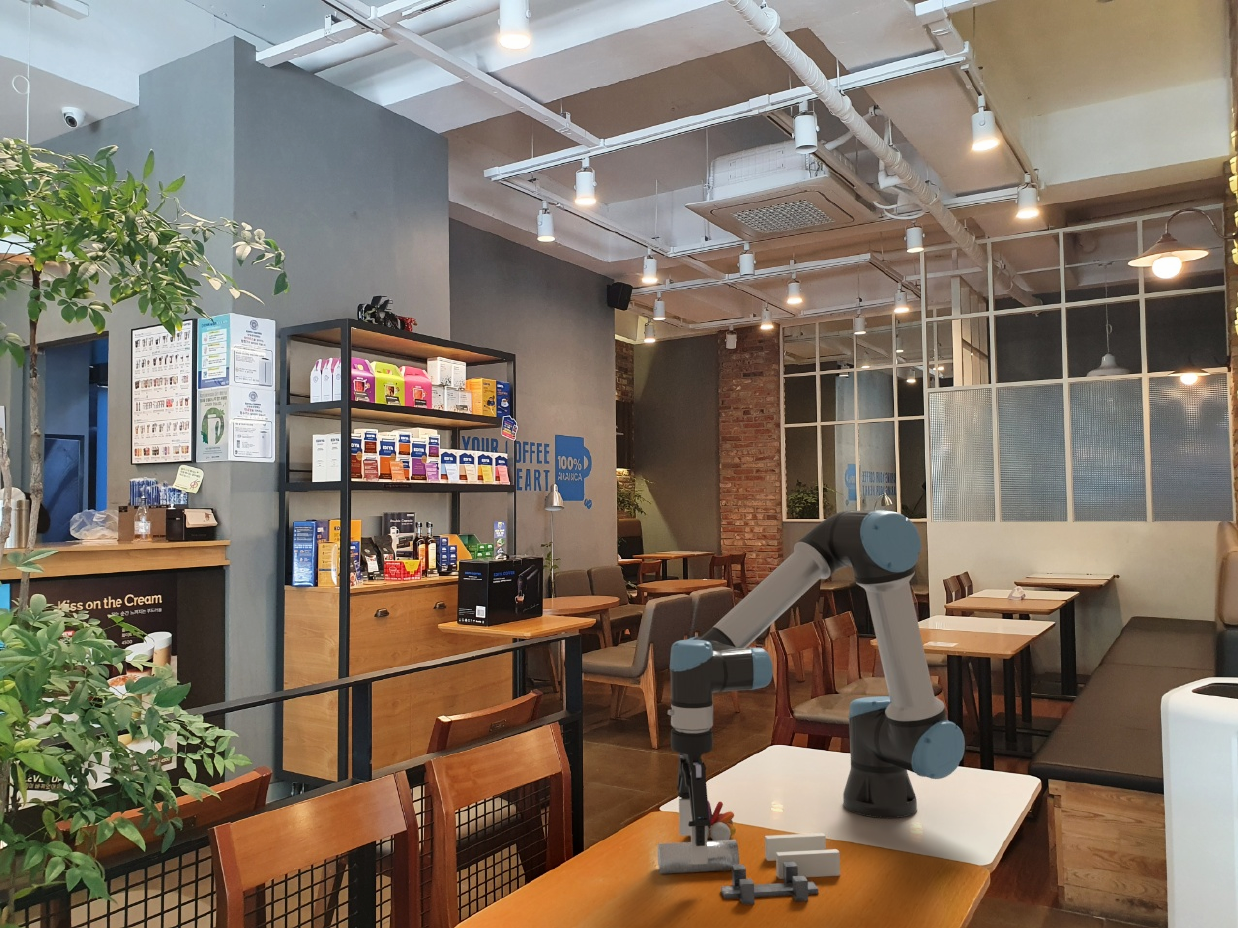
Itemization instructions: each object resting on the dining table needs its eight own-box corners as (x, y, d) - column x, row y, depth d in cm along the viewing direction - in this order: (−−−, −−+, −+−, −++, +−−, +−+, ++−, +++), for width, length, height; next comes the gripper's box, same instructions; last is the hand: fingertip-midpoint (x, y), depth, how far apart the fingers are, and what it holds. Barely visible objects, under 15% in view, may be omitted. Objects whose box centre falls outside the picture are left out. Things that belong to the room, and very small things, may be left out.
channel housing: (823, 854, 170) (822, 832, 170) (840, 875, 161) (839, 852, 161) (765, 857, 169) (764, 835, 169) (778, 878, 160) (778, 855, 160)
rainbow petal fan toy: (734, 847, 175) (733, 808, 175) (684, 844, 177) (683, 806, 177) (737, 831, 183) (736, 794, 184) (689, 828, 185) (688, 792, 185)
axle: (735, 870, 166) (732, 841, 169) (740, 868, 162) (737, 837, 164) (658, 874, 165) (656, 845, 167) (662, 872, 161) (659, 841, 163)
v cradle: (808, 880, 159) (808, 860, 159) (823, 899, 151) (822, 879, 151) (718, 885, 158) (717, 865, 158) (727, 905, 150) (727, 884, 150)
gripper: (661, 712, 176) (662, 824, 175) (681, 746, 152) (682, 877, 151) (700, 711, 177) (701, 823, 176) (726, 745, 152) (727, 875, 151)
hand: (692, 848), depth 163 cm, fingers open, 13 cm apart
